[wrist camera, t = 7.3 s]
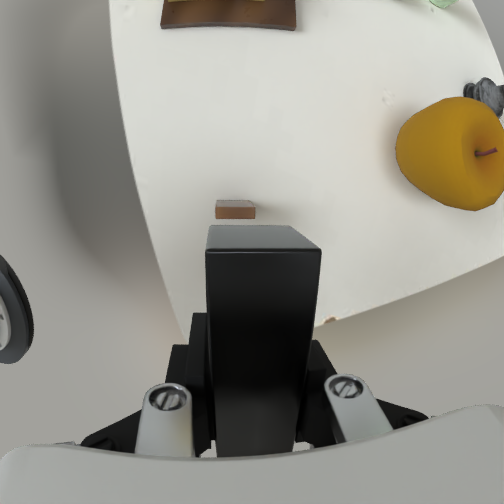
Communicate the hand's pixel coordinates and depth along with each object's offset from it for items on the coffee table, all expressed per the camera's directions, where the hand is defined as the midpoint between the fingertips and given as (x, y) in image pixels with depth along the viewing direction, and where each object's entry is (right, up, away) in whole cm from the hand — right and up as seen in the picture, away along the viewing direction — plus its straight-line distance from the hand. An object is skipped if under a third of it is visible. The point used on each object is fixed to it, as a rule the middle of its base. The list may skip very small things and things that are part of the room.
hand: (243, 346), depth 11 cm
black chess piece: (+32, +25, +17) cm, 44 cm away
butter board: (-2, +32, +11) cm, 34 cm away
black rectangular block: (0, +1, +4) cm, 4 cm away
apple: (+19, +15, +18) cm, 31 cm away
